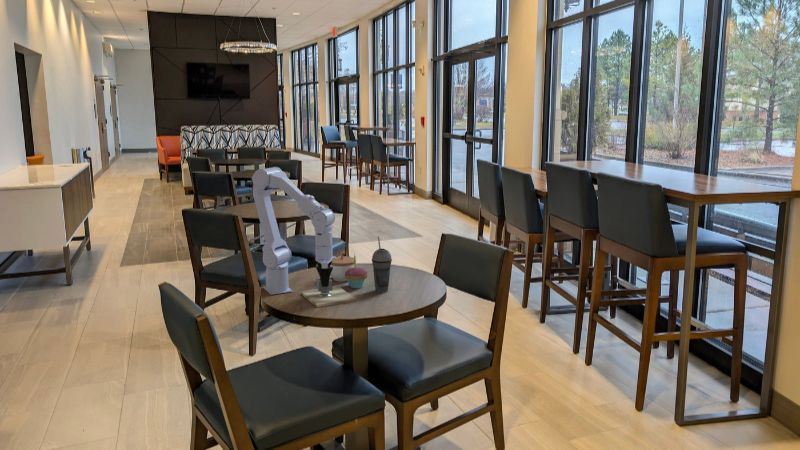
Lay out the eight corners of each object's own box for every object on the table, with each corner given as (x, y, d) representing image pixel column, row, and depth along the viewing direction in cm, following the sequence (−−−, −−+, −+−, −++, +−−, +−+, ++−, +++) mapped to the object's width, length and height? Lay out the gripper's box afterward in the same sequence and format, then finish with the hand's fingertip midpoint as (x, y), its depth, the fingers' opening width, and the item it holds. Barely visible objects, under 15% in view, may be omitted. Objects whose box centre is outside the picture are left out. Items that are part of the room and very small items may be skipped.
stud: (316, 294, 205) (316, 289, 204) (328, 292, 207) (328, 288, 206) (321, 297, 201) (321, 293, 201) (333, 295, 203) (333, 291, 203)
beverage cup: (389, 294, 208) (389, 239, 204) (369, 293, 209) (369, 238, 205) (393, 288, 215) (394, 235, 211) (374, 287, 216) (374, 234, 212)
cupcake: (342, 284, 220) (341, 253, 217) (363, 282, 222) (363, 251, 220) (348, 291, 212) (348, 258, 209) (370, 288, 215) (370, 256, 212)
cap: (314, 290, 203) (313, 279, 202) (325, 286, 207) (325, 276, 206) (323, 292, 200) (323, 282, 199) (335, 289, 204) (335, 278, 203)
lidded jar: (354, 283, 221) (354, 259, 219) (326, 283, 221) (325, 258, 219) (357, 275, 231) (357, 252, 229) (330, 275, 231) (329, 252, 230)
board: (301, 294, 208) (301, 291, 208) (338, 288, 214) (338, 286, 214) (317, 307, 194) (317, 304, 194) (356, 301, 200) (356, 298, 200)
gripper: (336, 249, 194) (337, 289, 197) (335, 239, 208) (335, 276, 211) (314, 250, 193) (316, 289, 196) (314, 240, 207) (315, 277, 210)
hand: (324, 283), depth 203 cm, fingers open, 7 cm apart
